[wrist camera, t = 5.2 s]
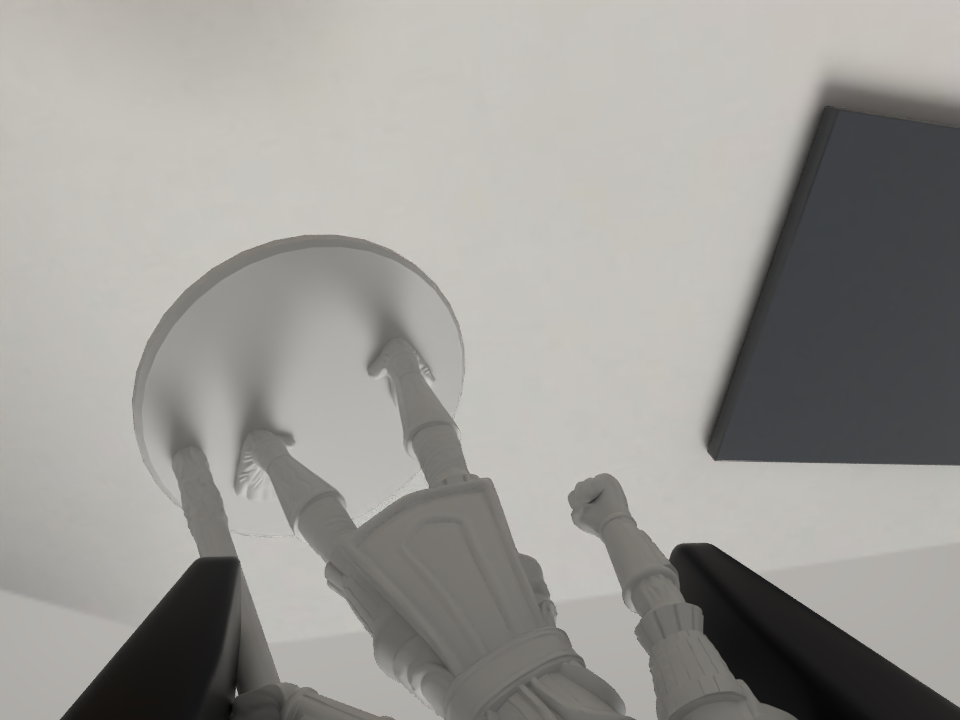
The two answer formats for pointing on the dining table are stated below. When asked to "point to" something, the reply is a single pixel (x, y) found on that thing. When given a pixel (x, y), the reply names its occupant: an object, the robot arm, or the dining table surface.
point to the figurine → (388, 493)
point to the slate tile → (858, 306)
